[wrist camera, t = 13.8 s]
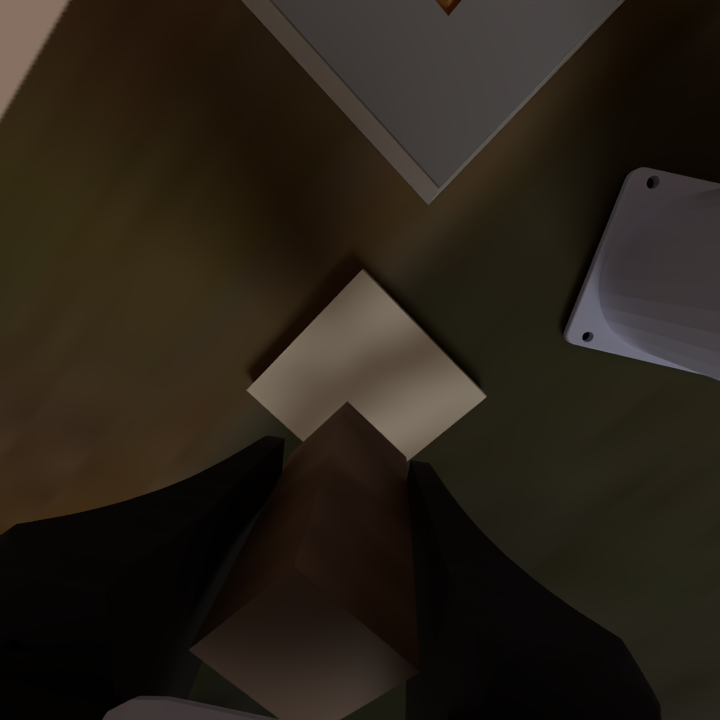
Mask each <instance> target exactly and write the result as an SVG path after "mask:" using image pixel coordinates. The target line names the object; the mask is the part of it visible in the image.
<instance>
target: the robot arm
mask: <svg viewBox="0 0 720 720" xmlns="http://www.w3.org/2000/svg"><path fill="white" fill-rule="evenodd" d="M649 178H651V179H652V180H653V186H652V188H651V189H649V188H648V187H647V185H646V184H647V180H648V179H649ZM585 332H589V337H588V339H586V340H583V339H582V335H583V334H584V333H585ZM564 338H565V339H566V341H568V342H570V343H572V344H575V345H580V346H584V347H588V348H592V349H597V350H601V351H605V352H609V353H614V354H618V355H622V356H626V357H631V358H635V359H639V360H643V361H647V362H652V363H656V364H660V365H664V366H669V367H673V368H677V369H681V370H686V371H690V372H694V373H698V374H703V375H706V376H709V377H711V378H714V379H717V380H719V381H720V184H719V183H714V182H710V181H705V180H701V179H696V178H692V177H687V176H683V175H678V174H674V173H669V172H665V171H660V170H656V169H651V168H647V167H641V168H638V169H636V170H633V171H631V172H630V173H629V174H628V175H627V177H626V178H625V181H624V183H623V186H622V188H621V191H620V193H619V195H618V198H617V200H616V203H615V205H614V208H613V210H612V213H611V215H610V218H609V220H608V223H607V225H606V228H605V230H604V233H603V235H602V238H601V240H600V243H599V245H598V248H597V250H596V253H595V255H594V258H593V260H592V263H591V265H590V268H589V270H588V273H587V275H586V278H585V280H584V283H583V285H582V288H581V290H580V293H579V295H578V298H577V300H576V303H575V305H574V308H573V310H572V313H571V315H570V318H569V320H568V323H567V325H566V328H565V330H564ZM284 441H285V438H279V437H273V436H265V437H263V438H261V439H260V440H258V441H256V442H255V443H253V444H251V445H250V446H248V447H246V448H245V449H243V450H241V451H239V452H238V453H236V454H234V455H232V456H231V457H229V458H227V459H225V460H224V461H222V462H220V463H218V464H216V465H214V466H212V467H210V468H208V469H206V470H204V471H202V472H200V473H198V474H196V475H194V476H192V477H190V478H187V479H185V480H183V481H180V482H178V483H175V484H173V485H170V486H168V487H165V488H163V489H160V490H157V491H154V492H151V493H148V494H145V495H142V496H139V497H136V498H133V499H130V500H127V501H123V502H120V503H116V504H112V505H109V506H105V507H101V508H97V509H93V510H89V511H84V512H80V513H75V514H71V515H66V516H60V517H55V518H49V519H44V520H38V521H33V522H27V523H21V524H16V525H14V526H13V527H12V528H10V529H9V530H7V531H6V532H4V533H3V534H2V535H0V720H280V719H275V718H270V717H265V716H261V715H256V714H251V713H246V712H242V711H237V710H232V709H227V708H223V707H218V706H213V705H208V704H204V703H199V702H194V701H189V700H187V699H188V696H189V694H190V691H191V689H192V686H193V683H194V681H195V678H196V676H197V673H198V671H199V668H200V666H201V663H202V660H201V659H200V658H198V657H197V656H196V655H194V654H193V653H192V652H190V651H189V648H190V646H191V644H192V643H193V641H194V639H195V637H196V635H197V633H198V631H199V629H200V627H201V625H202V623H203V621H204V620H205V618H206V616H207V614H208V612H209V610H210V608H211V606H212V604H213V602H214V600H215V599H216V597H217V595H218V593H219V591H220V589H221V587H222V585H223V583H224V581H225V579H226V577H227V576H228V574H229V572H230V570H231V568H232V566H233V564H234V562H235V560H236V558H237V556H238V555H239V553H240V551H241V549H242V547H243V545H244V543H245V541H246V539H247V537H248V535H249V533H250V532H251V530H252V528H253V526H254V524H255V522H256V520H257V518H258V516H259V514H260V512H261V510H262V509H263V507H264V505H265V503H266V501H267V500H268V498H269V496H270V494H271V493H272V491H273V489H274V487H275V485H276V483H277V481H278V479H279V477H280V476H281V474H282V464H283V452H284ZM407 490H408V502H409V508H410V521H411V536H412V552H413V568H414V583H415V599H416V614H417V630H418V645H419V661H420V672H419V673H418V674H416V675H414V676H413V677H411V678H409V679H408V680H406V720H661V706H660V704H659V702H658V700H657V698H656V696H655V694H654V692H653V690H652V688H651V687H650V685H649V683H648V682H647V680H646V678H645V677H644V675H643V673H642V672H641V670H640V668H639V666H638V665H637V663H636V662H635V660H634V658H633V657H632V655H631V653H630V652H629V650H628V649H627V647H626V646H625V644H624V643H623V641H622V640H621V639H620V638H619V637H617V636H616V635H614V634H613V633H611V632H609V631H608V630H606V629H605V628H603V627H602V626H600V625H599V624H597V623H595V622H594V621H592V620H591V619H589V618H588V617H586V616H584V615H583V614H581V613H580V612H578V611H577V610H575V609H574V608H572V607H571V606H569V605H568V604H567V603H565V602H564V601H562V600H561V599H560V598H558V597H557V596H556V595H554V594H553V593H551V592H550V591H549V590H547V589H546V588H545V587H543V586H542V585H541V584H539V583H538V582H537V581H536V580H534V579H533V578H532V577H531V576H529V575H528V574H527V573H526V572H525V571H523V570H522V569H521V568H520V567H519V566H518V565H516V564H515V563H514V562H513V561H512V560H511V559H509V558H508V557H507V556H506V555H505V554H504V553H503V552H502V551H501V550H500V549H499V548H498V547H497V546H496V545H495V544H494V543H493V542H492V541H491V540H490V539H489V538H488V537H487V536H486V535H485V534H484V533H483V532H482V531H481V530H480V529H479V528H478V527H477V526H476V525H475V524H474V522H473V521H472V520H471V519H470V518H469V517H468V515H467V514H466V513H465V512H464V511H463V509H462V508H461V507H460V506H459V504H458V503H457V502H456V500H455V499H454V498H453V496H452V495H451V494H450V492H449V491H448V490H447V488H446V487H445V485H444V484H443V482H442V481H441V479H440V478H439V477H438V475H437V474H436V472H435V471H434V469H433V468H432V466H431V465H430V463H424V462H419V461H413V460H411V462H410V467H409V472H408V477H407Z"/></svg>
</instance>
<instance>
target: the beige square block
mask: <svg viewBox="0 0 720 720" xmlns="http://www.w3.org/2000/svg"><path fill="white" fill-rule="evenodd" d="M247 391H248V392H249V393H250V394H251V395H252V396H253V397H255V398H256V399H257V400H258V401H259V402H260V403H261V404H262V405H263V406H264V407H266V408H267V409H268V410H269V411H270V412H271V413H272V414H273V415H274V416H275V417H277V418H278V419H279V420H280V421H281V422H282V423H283V424H284V425H285V426H286V427H288V428H289V429H290V430H291V431H292V432H293V433H294V434H295V435H296V436H297V437H299V438H300V439H301V440H302V441H303V442H304V441H305V440H306V439H307V438H308V437H309V436H310V435H311V434H312V433H313V432H314V431H316V430H317V429H318V428H319V427H320V426H321V425H322V424H323V423H324V422H325V421H326V420H327V419H329V418H330V417H331V416H332V415H333V414H334V413H335V412H336V411H337V410H338V409H339V408H340V407H342V406H343V405H344V404H345V403H346V402H347V401H348V402H349V403H350V404H351V405H352V406H353V407H354V408H355V409H356V410H357V411H358V412H359V413H360V414H361V415H363V416H364V417H365V418H366V419H367V420H368V421H369V422H370V423H371V424H372V425H373V426H374V427H375V428H376V429H377V430H378V431H379V432H380V433H382V434H383V435H384V436H385V437H386V438H387V439H388V440H389V441H390V442H391V443H392V444H393V445H394V446H395V447H396V448H397V449H398V450H399V451H400V452H402V453H403V454H404V455H405V456H406V459H407V461H408V460H409V459H411V458H412V457H413V456H414V455H415V454H417V453H418V452H419V451H420V450H422V449H423V448H424V447H425V446H427V445H428V444H429V443H430V442H432V441H433V440H434V439H435V438H436V437H438V436H439V435H440V434H441V433H443V432H444V431H445V430H446V429H448V428H449V427H450V426H451V425H453V424H454V423H455V422H456V421H457V420H459V419H460V418H461V417H462V416H464V415H465V414H466V413H467V412H469V411H470V410H471V409H472V408H474V407H475V406H476V405H477V404H479V403H480V402H481V401H482V400H483V399H485V398H486V397H487V396H486V395H485V393H484V392H483V390H482V389H481V388H480V387H479V386H478V385H477V384H476V383H475V382H474V381H473V380H472V379H471V378H470V377H469V376H468V375H467V374H466V373H465V372H464V371H463V370H462V369H461V368H460V367H459V366H458V365H457V364H456V363H455V362H454V360H453V359H452V358H451V357H450V356H449V355H448V354H447V353H446V352H445V351H444V350H443V349H442V348H441V347H440V346H439V345H438V344H437V343H436V342H435V341H434V340H433V339H432V338H431V337H430V336H429V335H428V334H427V333H426V332H425V331H424V330H423V329H422V328H421V327H420V326H419V325H418V324H417V323H416V321H415V320H414V319H413V318H412V317H411V316H410V315H409V314H408V313H407V312H406V311H405V310H404V309H403V308H402V307H401V306H400V305H399V304H398V303H397V302H396V301H395V300H394V299H393V298H392V297H391V296H390V295H389V294H388V293H387V292H386V291H385V290H384V289H383V288H382V287H381V286H380V285H379V284H378V282H377V281H376V280H375V279H374V278H373V277H372V276H371V275H370V274H369V273H368V272H367V271H366V270H365V269H362V270H361V271H360V272H359V273H358V274H357V275H356V277H355V278H354V279H353V280H352V281H351V282H350V283H349V284H348V285H347V286H346V287H345V288H344V289H343V290H342V291H341V292H340V293H339V294H338V295H337V296H336V297H335V298H334V300H333V301H332V302H331V303H330V304H329V305H328V306H327V307H326V308H325V309H324V310H323V311H322V312H321V313H320V314H319V315H318V316H317V317H316V318H315V319H314V320H313V321H312V323H311V324H310V325H309V326H308V327H307V328H306V329H305V330H304V331H303V332H302V333H301V334H300V335H299V336H298V337H297V338H296V339H295V340H294V341H293V342H292V343H291V344H290V346H289V347H288V348H287V349H286V350H285V351H284V352H283V353H282V354H281V355H280V356H279V357H278V358H277V359H276V360H275V361H274V362H273V363H272V364H271V365H270V366H269V367H268V368H267V370H266V371H265V372H264V373H263V374H262V375H261V376H260V377H259V378H258V379H257V380H256V381H255V382H254V383H253V384H252V385H251V386H250V387H249V388H248V389H247Z"/></svg>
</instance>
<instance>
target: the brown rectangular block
mask: <svg viewBox="0 0 720 720" xmlns="http://www.w3.org/2000/svg"><path fill="white" fill-rule="evenodd" d="M407 477H408V474H407V459H406V456H405V455H404V454H403V453H402V452H400V451H399V450H398V449H397V448H396V447H395V446H394V445H393V444H392V443H391V442H390V441H389V440H388V439H387V438H386V437H385V436H384V435H383V434H382V433H380V432H379V431H378V430H377V429H376V428H375V427H374V426H373V425H372V424H371V423H370V422H369V421H368V420H367V419H366V418H365V417H364V416H363V415H361V414H360V413H359V412H358V411H357V410H356V409H355V408H354V407H353V406H352V405H351V404H350V403H349V402H348V401H347V402H346V403H345V404H344V405H343V406H342V407H340V408H339V409H338V410H337V411H336V412H335V413H334V414H333V415H332V416H331V417H330V418H329V419H327V420H326V421H325V422H324V423H323V424H322V425H321V426H320V427H319V428H318V429H317V430H316V431H314V432H313V433H312V434H311V435H310V436H309V437H308V438H307V439H306V440H305V441H304V442H303V443H301V444H300V445H299V446H298V447H297V448H296V449H295V450H294V451H293V452H292V453H291V455H290V457H289V459H288V461H287V463H286V465H285V466H284V468H283V470H282V474H281V476H280V477H279V479H278V481H277V483H276V485H275V487H274V489H273V491H272V493H271V494H270V496H269V498H268V500H267V501H266V503H265V505H264V507H263V509H262V510H261V512H260V514H259V516H258V518H257V520H256V522H255V524H254V526H253V528H252V530H251V532H250V533H249V535H248V537H247V539H246V541H245V543H244V545H243V547H242V549H241V551H240V553H239V555H238V556H237V558H236V560H235V562H234V564H233V566H232V568H231V570H230V572H229V574H228V576H227V577H226V579H225V581H224V583H223V585H222V587H221V589H220V591H219V593H218V595H217V597H216V599H215V600H214V602H213V604H212V606H211V608H210V610H209V612H208V614H207V616H206V618H205V620H204V621H203V623H202V625H201V627H200V629H199V631H198V633H197V635H196V637H195V639H194V641H193V643H192V644H191V646H190V648H189V651H190V652H192V653H193V654H194V655H196V656H197V657H198V658H200V659H201V660H202V661H204V662H205V663H206V664H208V665H209V666H210V667H212V668H213V669H214V670H216V671H217V672H218V673H220V674H221V675H222V676H223V677H225V678H226V679H227V680H229V681H230V682H231V683H233V684H234V685H235V686H237V687H238V688H239V689H241V690H242V691H243V692H245V693H246V694H247V695H249V696H250V697H251V698H253V699H254V700H255V701H256V702H258V703H259V704H260V705H262V706H263V707H264V708H266V709H267V710H268V711H270V712H271V713H272V714H274V715H275V716H276V717H278V718H279V719H280V720H340V719H342V718H344V717H345V716H347V715H349V714H350V713H352V712H354V711H355V710H357V709H359V708H361V707H362V706H364V705H366V704H367V703H369V702H371V701H372V700H374V699H376V698H377V697H379V696H381V695H382V694H384V693H386V692H387V691H389V690H391V689H392V688H394V687H396V686H398V685H399V684H401V683H403V682H404V681H406V680H408V679H409V678H411V677H413V676H414V675H416V674H418V673H419V672H420V661H419V645H418V630H417V614H416V599H415V583H414V568H413V552H412V536H411V521H410V508H409V502H408V490H407Z"/></svg>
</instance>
